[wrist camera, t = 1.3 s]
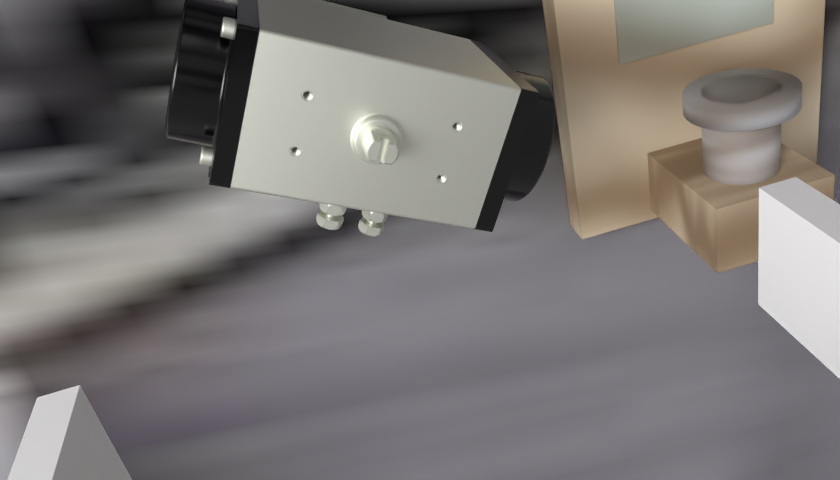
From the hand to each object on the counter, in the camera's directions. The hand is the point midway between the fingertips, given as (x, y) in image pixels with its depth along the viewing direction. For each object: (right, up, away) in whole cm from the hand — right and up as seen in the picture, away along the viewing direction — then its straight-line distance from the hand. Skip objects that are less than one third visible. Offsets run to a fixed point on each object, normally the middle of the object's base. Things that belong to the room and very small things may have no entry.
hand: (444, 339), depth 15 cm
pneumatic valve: (-4, +10, +18) cm, 20 cm away
